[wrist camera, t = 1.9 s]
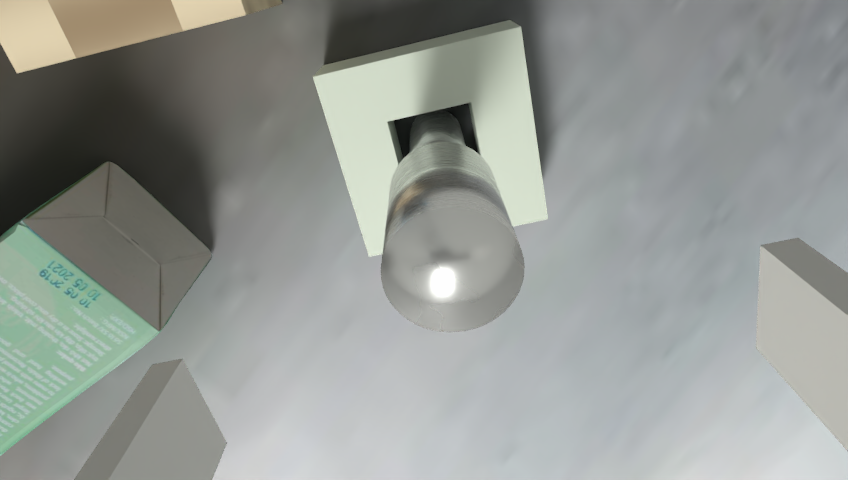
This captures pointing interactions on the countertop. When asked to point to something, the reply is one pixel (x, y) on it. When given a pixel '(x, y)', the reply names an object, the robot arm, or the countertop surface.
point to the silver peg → (448, 233)
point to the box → (85, 291)
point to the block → (102, 25)
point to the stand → (429, 91)
